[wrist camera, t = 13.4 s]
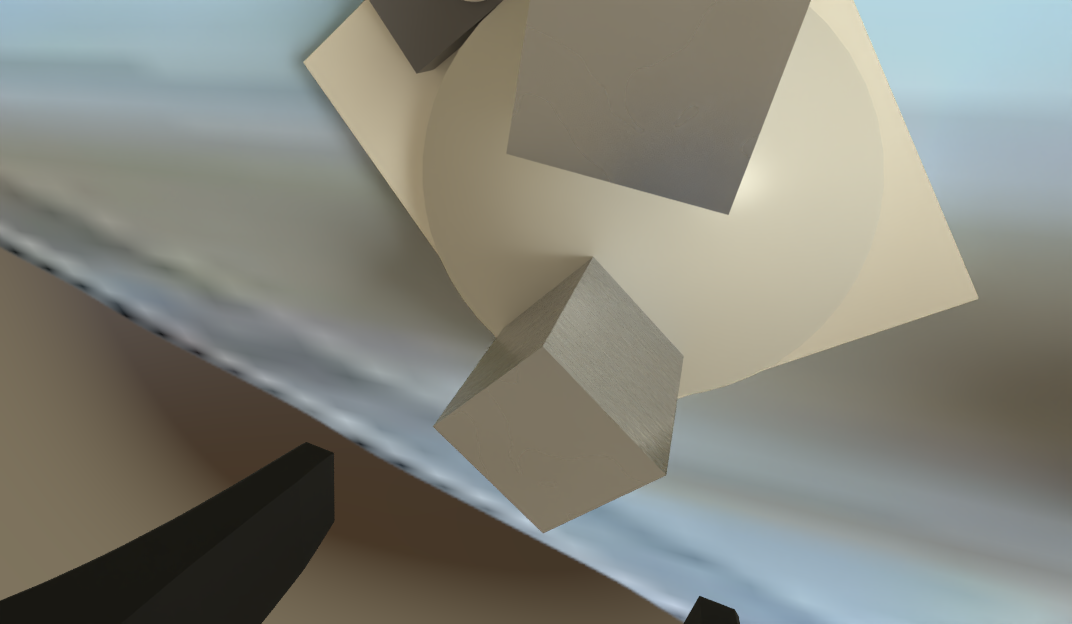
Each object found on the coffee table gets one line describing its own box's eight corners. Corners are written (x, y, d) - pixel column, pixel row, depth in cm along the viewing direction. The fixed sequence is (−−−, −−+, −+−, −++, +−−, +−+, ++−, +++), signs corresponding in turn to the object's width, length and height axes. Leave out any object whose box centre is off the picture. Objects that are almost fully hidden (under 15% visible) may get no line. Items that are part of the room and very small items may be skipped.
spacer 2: (683, 356, 17) (666, 474, 12) (586, 414, 19) (542, 533, 15) (593, 256, 16) (542, 346, 12) (502, 328, 18) (432, 426, 14)
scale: (962, 279, 15) (998, 322, 13) (572, 416, 22) (555, 460, 20) (710, -314, 12) (705, -384, 10) (327, 58, 18) (273, 66, 16)
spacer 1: (800, -43, 12) (837, -69, 7) (730, 150, 14) (728, 215, 9) (612, -80, 12) (548, -122, 8) (573, 109, 14) (506, 153, 10)
